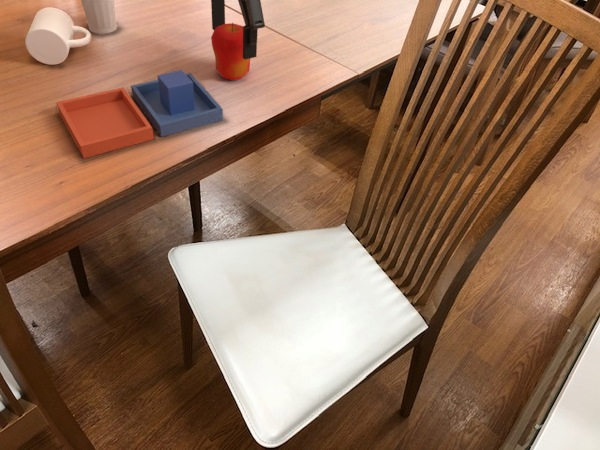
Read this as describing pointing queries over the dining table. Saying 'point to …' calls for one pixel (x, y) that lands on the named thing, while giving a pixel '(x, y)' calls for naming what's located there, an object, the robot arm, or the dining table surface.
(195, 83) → the blue tray
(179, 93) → the block
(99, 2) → the cup
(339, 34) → the dining table surface
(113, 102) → the red tray
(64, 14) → the mug
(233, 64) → the apple
